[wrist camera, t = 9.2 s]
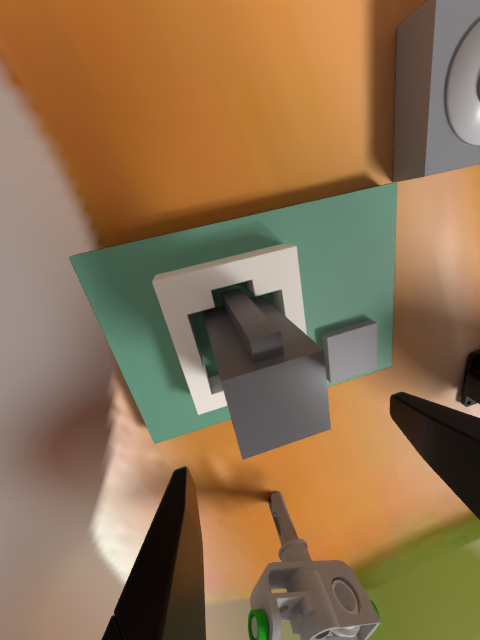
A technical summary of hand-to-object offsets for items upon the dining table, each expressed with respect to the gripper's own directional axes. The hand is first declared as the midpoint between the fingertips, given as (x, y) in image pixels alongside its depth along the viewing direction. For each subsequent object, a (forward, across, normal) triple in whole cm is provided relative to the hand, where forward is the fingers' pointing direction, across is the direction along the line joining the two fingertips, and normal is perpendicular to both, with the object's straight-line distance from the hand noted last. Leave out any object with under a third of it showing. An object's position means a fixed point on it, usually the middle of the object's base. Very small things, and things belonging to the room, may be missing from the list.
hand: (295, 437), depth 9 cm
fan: (+11, -17, -11) cm, 23 cm away
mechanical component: (+11, 0, +20) cm, 23 cm away
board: (+11, -2, 0) cm, 11 cm away
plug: (+10, 0, 0) cm, 10 cm away
